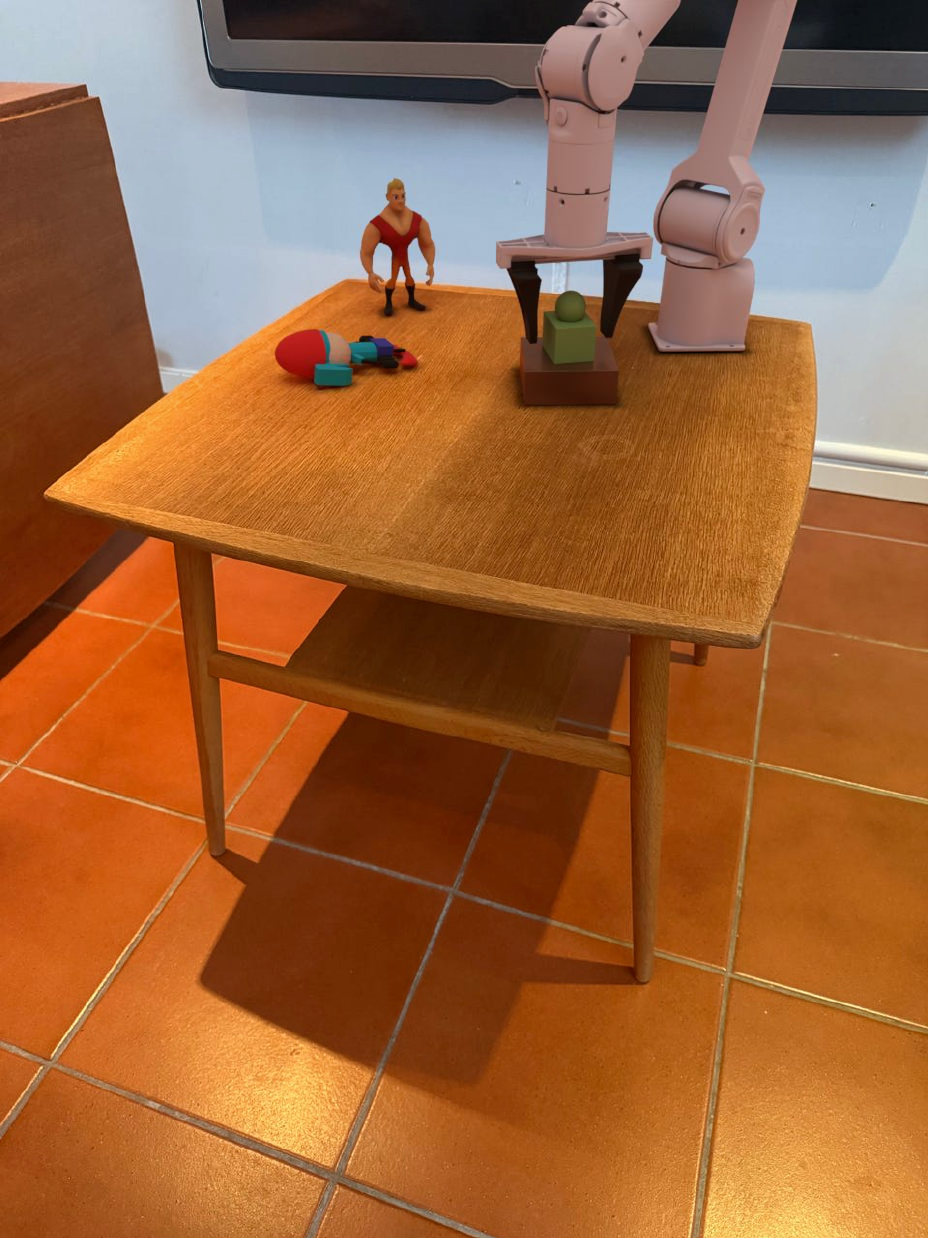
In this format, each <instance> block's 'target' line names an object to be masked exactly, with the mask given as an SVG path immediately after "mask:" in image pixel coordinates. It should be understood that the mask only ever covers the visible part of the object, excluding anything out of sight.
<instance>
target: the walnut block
mask: <svg viewBox="0 0 928 1238" xmlns="http://www.w3.org/2000/svg"><path fill="white" fill-rule="evenodd" d="M542 338H543V336H538V338H537V344H529V342H528V340H527V339H526V337H525V336H523V337H520V343H519V344H520V345H519V347H520V349H519V374H520V382H521V392H522V398H523V399H522V400H523V406H584V405H585V406H593V405H595V406H598V405H599V406H601V405H606V406H607V405H616V404H617V403H616V402H617V393H618V385H619V376H620V375H619V374H620V370H619V367H618V364H617V362H616V359H615V355H614V352H613V349H612V347H611V343H610V341H609V338H605V336H596V339H595V352H594V361H589V362H576V363H564V364H554V363H553V361H552V360H551V358H550V357H549V355H548V354H547V352H546V351H545V349H544V348H543V346H542Z"/></svg>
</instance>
